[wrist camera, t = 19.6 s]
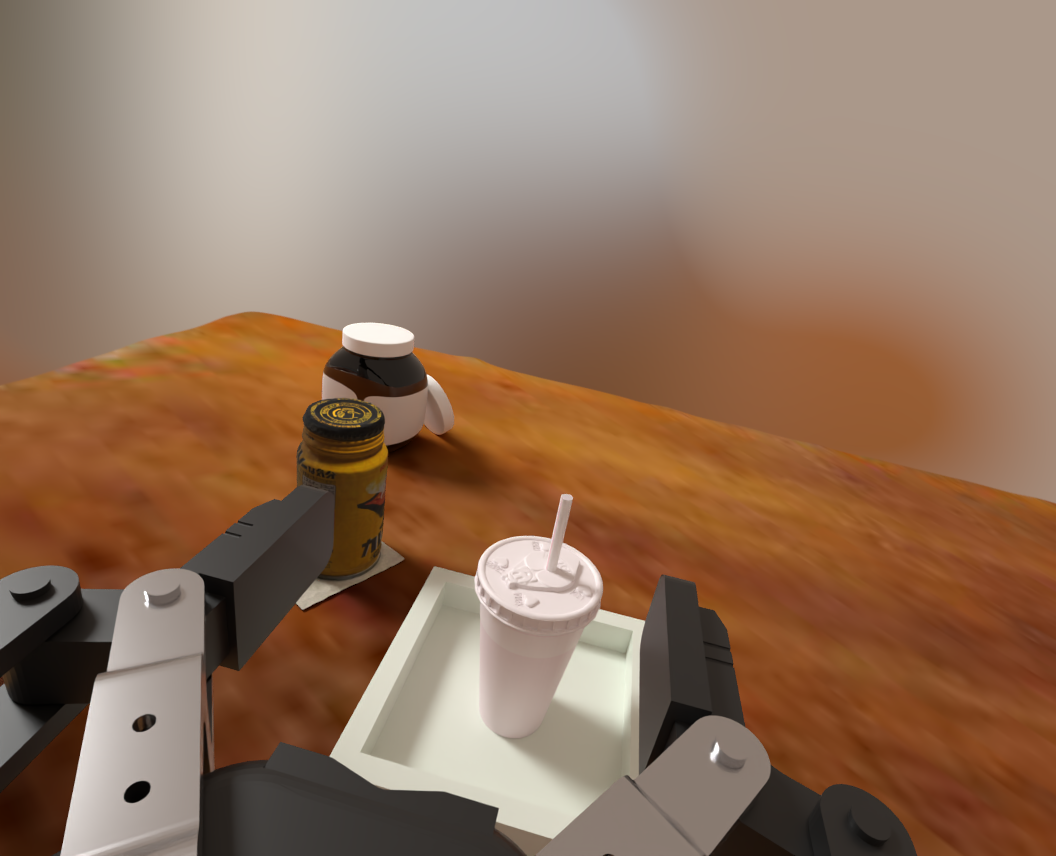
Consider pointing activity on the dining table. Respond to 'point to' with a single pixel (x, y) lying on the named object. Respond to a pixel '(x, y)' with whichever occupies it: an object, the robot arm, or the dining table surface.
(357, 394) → the spread jar
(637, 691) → the tray
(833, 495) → the dining table surface
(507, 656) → the smoothie
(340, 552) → the condiment
